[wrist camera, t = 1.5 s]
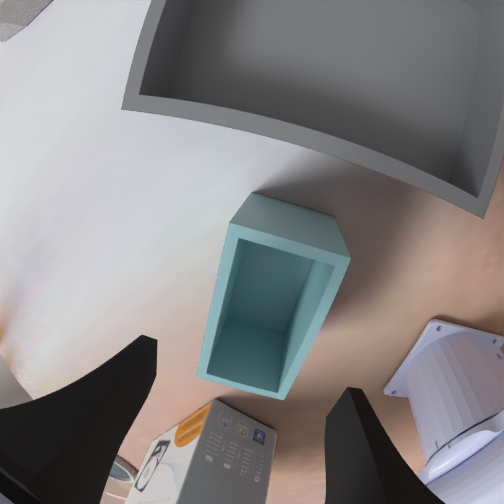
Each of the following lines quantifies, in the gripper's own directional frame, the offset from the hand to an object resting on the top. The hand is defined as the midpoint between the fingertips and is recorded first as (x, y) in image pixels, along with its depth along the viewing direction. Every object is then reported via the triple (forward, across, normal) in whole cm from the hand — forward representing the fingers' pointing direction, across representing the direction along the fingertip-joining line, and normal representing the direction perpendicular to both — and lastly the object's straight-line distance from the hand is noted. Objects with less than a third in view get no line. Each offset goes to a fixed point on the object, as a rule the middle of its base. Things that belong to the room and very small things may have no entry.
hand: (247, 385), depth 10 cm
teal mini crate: (+10, 0, 0) cm, 10 cm away
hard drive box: (+10, +1, +22) cm, 24 cm away
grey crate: (+10, 0, -15) cm, 18 cm away
